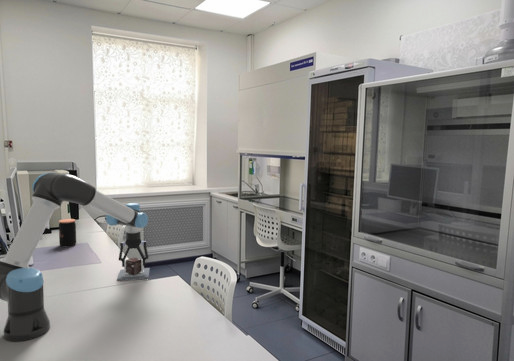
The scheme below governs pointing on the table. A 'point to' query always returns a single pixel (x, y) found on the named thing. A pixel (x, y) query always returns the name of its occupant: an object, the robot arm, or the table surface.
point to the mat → (133, 277)
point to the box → (133, 266)
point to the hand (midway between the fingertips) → (134, 271)
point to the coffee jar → (67, 232)
